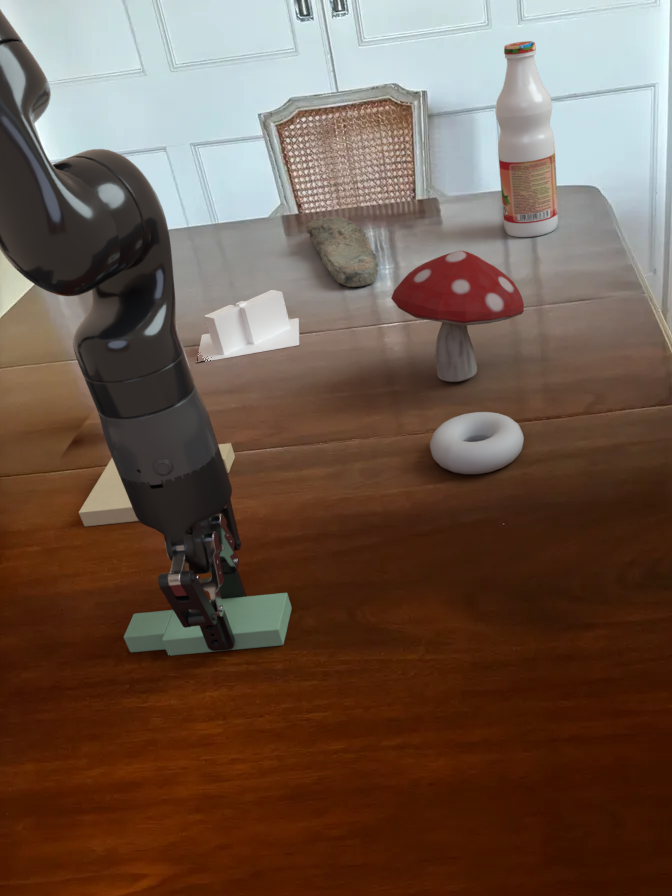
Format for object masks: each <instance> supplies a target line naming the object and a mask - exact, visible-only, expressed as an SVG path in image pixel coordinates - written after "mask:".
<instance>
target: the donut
mask: <svg viewBox="0 0 672 896" xmlns="http://www.w3.org/2000/svg"><path fill="white" fill-rule="evenodd" d="M524 439H525V437H524V433H523V431H522V429H521V426H520V425H519V423H517V422H516V421H515V420H514V419H512V418H511V417H510V416H508V415H504V414H501V413H498V412H491V411H475V412H469V413H464V414H463V413H462V414H461V415H458V416H454V417H451V418H450V419H448V420H446V421H444V422H443V423H442V424H440V426H438V427H437V428H436V429H435V431H434V432H433V434H432V436H431V439H430V441H429V448H430V453H431V457H432V458H433V460H434V461H435V462H436V463H437V465H439V466H440V467H441V468H442V469H445V470H447V471H450V472H452V473H456V474H461V475H481V474H486V473H492V472H494V471H497V470H499V469H500V470H501V469H503V468H505V467H506V466H508V465H509V464H511V463H512V462H514V461H515V460H516V458H517V457H518V456H519V455H520V454H521V452H522V449H523V446H524Z"/></svg>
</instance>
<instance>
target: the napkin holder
mask: <svg viewBox="0 0 672 896" xmlns="http://www.w3.org/2000/svg"><path fill="white" fill-rule="evenodd" d="M203 317H204V320H205V323H206V326H207V329H208V333H204V334H201V338H200V343H199V347H198V352H199V353H200V352H201V353H200V354H201V355H203V357H202V358H204V357H205V358H206V357H207V356H208V357H207V358H206V359H208V358H209V359H208V361H207V360H206V361H205V362H211V361H217V360H223V359H228V358H234V357H240V356H245V355H251V354H257V353H262V352H267V351H274V350H279V349H285V348H292V347H295V346H300V318H299V317H295V318H289V315H288V310H287V307H286V303H285V299H284V294H283V291H279V290H277V289H276V290H275V289H270V290H267V291H266V292H264V293H261V294H259V295H257V296H254V297H252V298H250V299H247V300H245V301H244V300H240V301H238V302H236V303H235V305H233V304H228V305H226V306H224V307H221V308H219V309H217V310H214V311H213V312H210V313H207V314H205V315H204V316H203ZM198 352H197V356H199V355H200V354H199V353H198ZM198 354H199V355H198ZM211 357H212V358H211ZM205 358H204V360H205ZM210 360H211V361H210ZM205 362H204V363H205Z"/></svg>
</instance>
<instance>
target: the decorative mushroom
mask: <svg viewBox="0 0 672 896" xmlns="http://www.w3.org/2000/svg"><path fill="white" fill-rule="evenodd" d="M390 299H391V300H392V302H393V303H394V304H395V305H396V307H397V308H398V309H399V310H401V311H403V312H405V313H406V314H408V315H409V316H412V317H414V318H415V319H419V320H426V321H433V322H438V323H441V324H440V328H439V330H438V334H437V335H436V344H435V350H434V361H435V369H436V375H437V377H438V378H439V379H440V380H442V381H444V382H449V383H459V382H463V381H467V380H469V379H472V378H473V377H474V376H476V374H477V373H478V366H477V365H478V364H477V359H476V354H475V353H476V352H475V349H474V346H473V344H472V341H471V337H470V334H469V331H468V330H469V329H468V326H476V325H485V324H487V325H488V324H492V323H496V322H502V321H506V320H509V319H512V318H515V317H518V316H520V315H522V314H523V313H524V310H525V303H524V299H523V296H522V294H521V292H520V290H519V288H518V287H517V285H516V284H515V282H514V281H513V280H512V279H511V278H510V277H509V276H508V275H506V274H505V273H504V272H503V271H501V269H499V268H498V267H496V266H495V265H493V264H491V263H490V262H488V261H487V260H485V259H483V258H481V257H480V256H478V255H476V254H474V253H472V252H469V251H465V250H456V251H453V252H450V253H446V254H443V255H440V256H438V257H435V258H433V259H430V260H428V261H425V262H424V263H421V264H420V265H419V266H417V267H415V268H414V269H412V270H411V271H410V272H409V273H407V275H406V276H405V277H404V278H403V279H402V280H401V281H400V283H399V284H398V285H397V286H396V287H395V288H394V289H393V292H392V294H391V297H390Z"/></svg>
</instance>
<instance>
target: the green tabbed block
mask: <svg viewBox="0 0 672 896" xmlns="http://www.w3.org/2000/svg"><path fill="white" fill-rule="evenodd" d="M288 594H289V593H288V592H280V593H279V592H278V593H270V594H259V595H249V596H248V595H246V596H247V597H237V598H227V599H222V604H223V608H224V610H225V613H226V616H227V619H228V621H229V624H230V627H231V630H232V632H233V636H234V639H235V643H234V647H233V648H232V649H230V650H229V651H235V650H247V649H257V648H258V649H259V648H266V647H267V648H269V647H279V646H284V644H285V641H286V636H287V631H288V627H289V622H290V618H291V614H292V603H291V601H290V598H289V595H288ZM209 601H210V602H211V599H209ZM123 640H124V641H125V644H126V646H127V648H128V650H129V652H130V653H141V652H151V651H162V650H165V651H166V653H167V656H169V655H170V656H180V655H181V656H182V655H191V654H193V655H194V654H204V653H212V652H213V653H214V652H216V651H212V650H210V649H209V648H208V647H207V644H206V642H205V639H204V636H203V634H202V631H201V629H200V626H192V627H187V628H184V627H183V626H182V624H181V622H180V621H179V619H178V617H177V615H176V614H175V612H174V610H173V609H169V610H159V611H147V612H138V613H133V614H132V617H131V620H130V622H129V624H128V626H127V628H126V631H125V633H124V634H123ZM224 651H227V650H220V651H219V652H224ZM170 656H169V657H170Z"/></svg>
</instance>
